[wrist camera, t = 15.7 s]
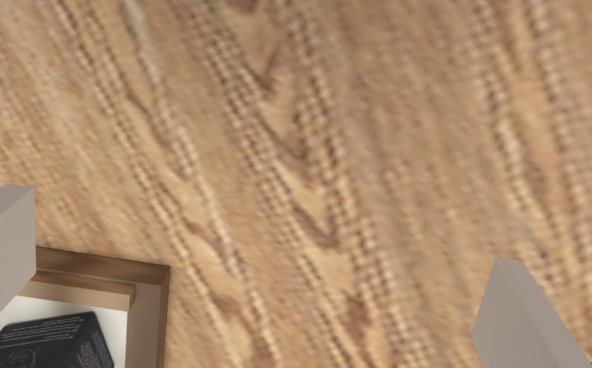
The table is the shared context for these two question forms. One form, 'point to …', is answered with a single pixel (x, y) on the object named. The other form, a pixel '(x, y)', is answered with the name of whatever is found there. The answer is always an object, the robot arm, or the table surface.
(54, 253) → the stand
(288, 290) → the table surface
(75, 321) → the box
